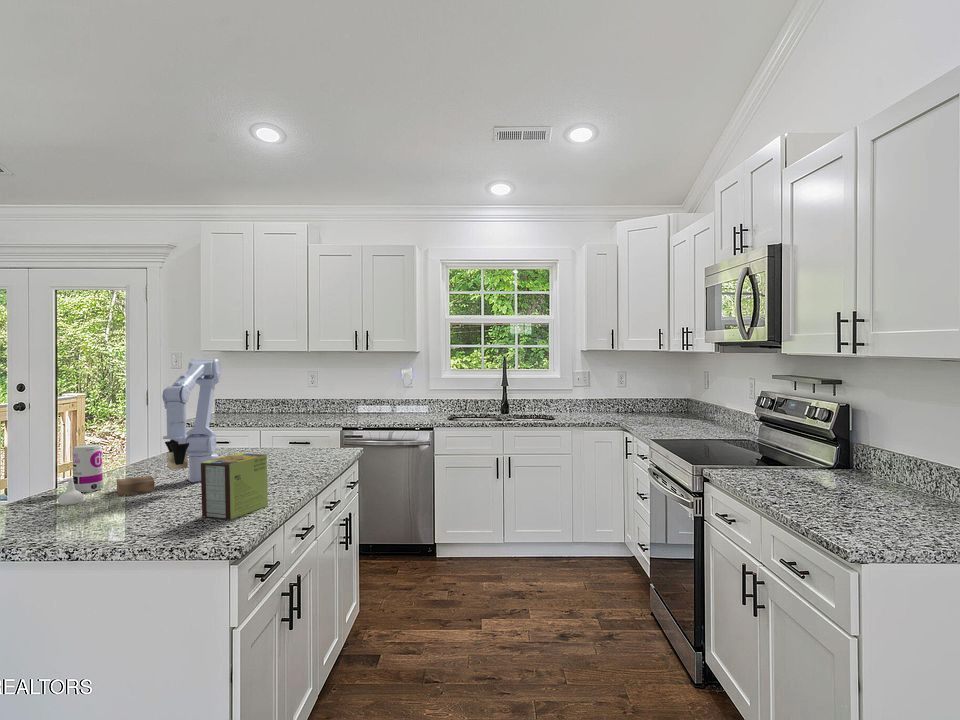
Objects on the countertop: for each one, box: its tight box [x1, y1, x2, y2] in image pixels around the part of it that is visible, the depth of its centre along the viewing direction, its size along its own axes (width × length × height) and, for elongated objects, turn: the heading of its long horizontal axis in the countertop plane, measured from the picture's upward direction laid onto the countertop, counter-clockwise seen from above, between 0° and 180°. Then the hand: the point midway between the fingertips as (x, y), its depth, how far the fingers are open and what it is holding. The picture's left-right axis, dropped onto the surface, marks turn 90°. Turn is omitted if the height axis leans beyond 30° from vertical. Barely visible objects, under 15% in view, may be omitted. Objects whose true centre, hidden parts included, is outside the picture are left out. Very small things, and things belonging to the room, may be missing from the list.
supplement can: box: [72, 443, 104, 493], centre depth 193 cm, size 8×8×15 cm
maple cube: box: [166, 451, 189, 471], centre depth 190 cm, size 5×5×5 cm
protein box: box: [200, 452, 269, 521], centre depth 165 cm, size 10×15×16 cm
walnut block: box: [116, 475, 156, 497], centre depth 191 cm, size 10×10×4 cm
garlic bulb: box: [57, 477, 84, 506], centre depth 177 cm, size 6×6×8 cm
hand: (177, 463), depth 190 cm, fingers closed on maple cube, 5 cm apart
